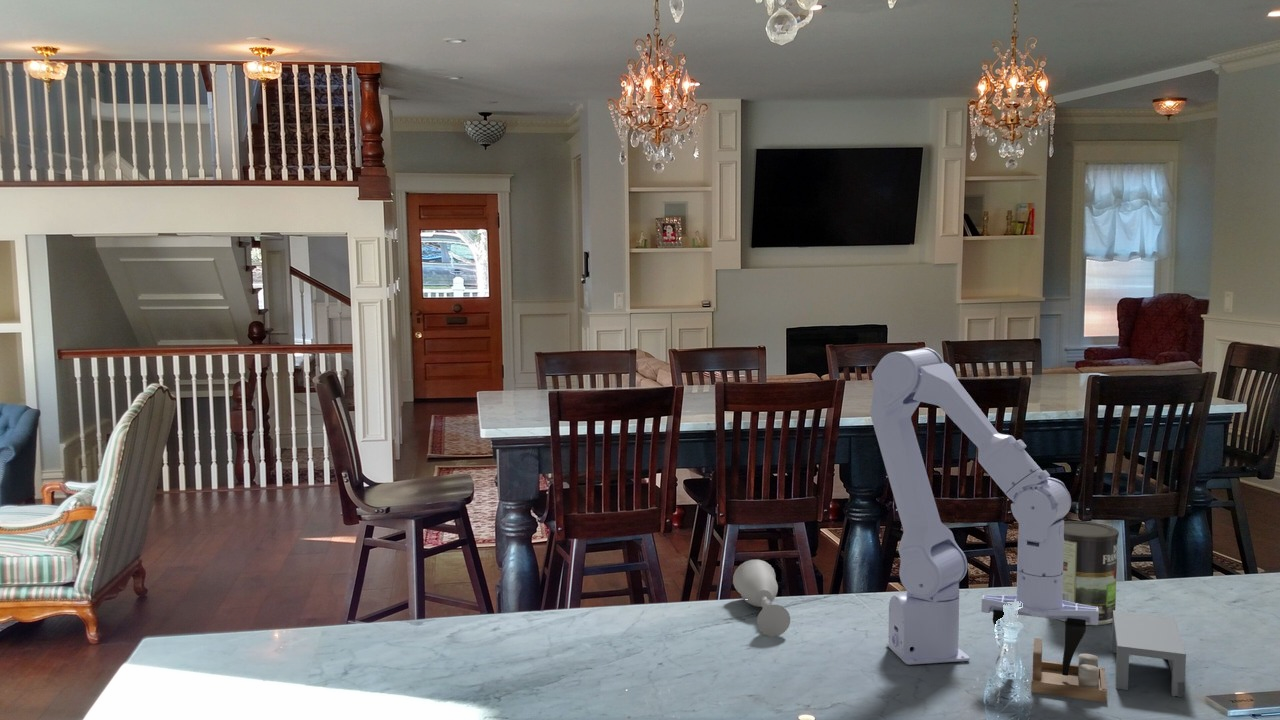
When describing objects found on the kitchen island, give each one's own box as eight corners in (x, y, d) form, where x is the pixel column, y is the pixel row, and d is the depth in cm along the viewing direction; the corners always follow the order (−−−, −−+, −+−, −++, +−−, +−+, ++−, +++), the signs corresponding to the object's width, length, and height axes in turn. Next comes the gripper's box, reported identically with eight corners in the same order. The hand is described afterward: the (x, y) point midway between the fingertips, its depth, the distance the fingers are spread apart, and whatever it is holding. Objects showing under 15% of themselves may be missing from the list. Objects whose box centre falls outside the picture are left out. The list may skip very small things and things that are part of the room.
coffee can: (1122, 612, 165) (1125, 526, 164) (1107, 630, 157) (1109, 540, 155) (1056, 600, 171) (1058, 517, 170) (1037, 617, 163) (1039, 530, 162)
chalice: (800, 637, 156) (778, 594, 174) (794, 595, 155) (773, 556, 173) (752, 645, 156) (735, 601, 174) (746, 603, 155) (730, 563, 173)
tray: (1031, 694, 135) (1032, 655, 134) (1033, 671, 142) (1033, 635, 142) (1106, 704, 131) (1107, 665, 131) (1104, 681, 139) (1105, 643, 138)
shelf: (1116, 688, 135) (1117, 645, 135) (1111, 649, 149) (1112, 610, 149) (1184, 697, 132) (1186, 654, 132) (1173, 656, 146) (1174, 616, 146)
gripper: (980, 573, 136) (978, 672, 137) (1100, 585, 130) (1097, 688, 132) (984, 559, 142) (982, 653, 144) (1098, 569, 137) (1095, 668, 138)
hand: (1037, 669), depth 138 cm, fingers open, 6 cm apart
